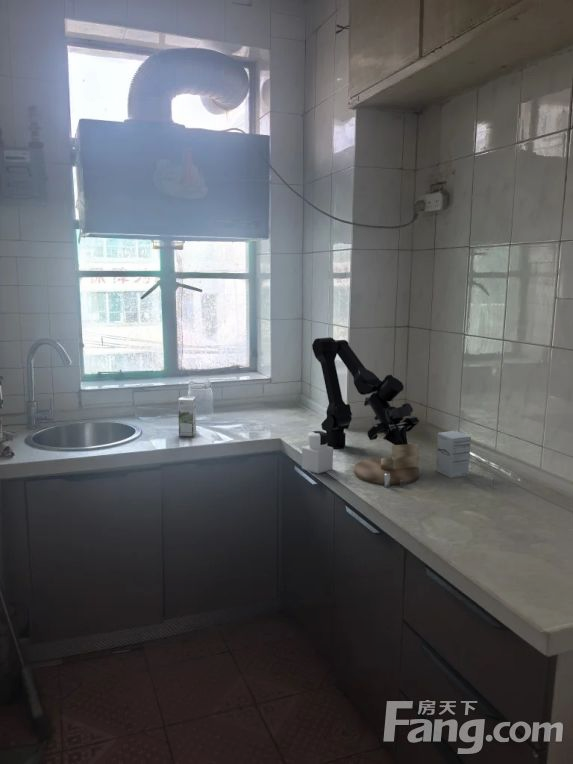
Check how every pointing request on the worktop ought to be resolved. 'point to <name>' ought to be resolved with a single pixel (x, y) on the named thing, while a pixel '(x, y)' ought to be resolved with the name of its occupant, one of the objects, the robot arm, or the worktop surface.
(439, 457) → the supplement box
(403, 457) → the walnut flange plate
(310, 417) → the worktop surface
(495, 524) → the worktop surface
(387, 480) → the steel dowel
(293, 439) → the worktop surface
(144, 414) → the worktop surface
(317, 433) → the medicine bottle
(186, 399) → the syrup box
